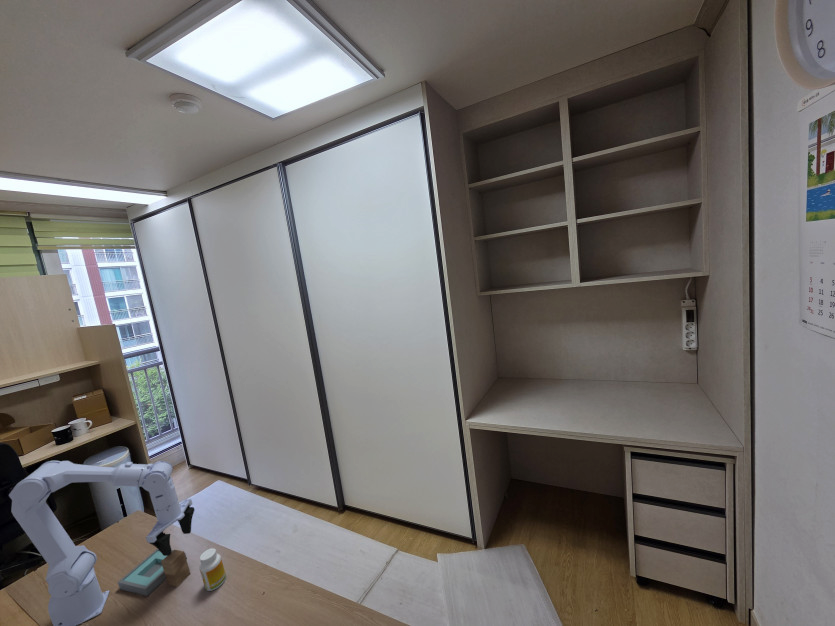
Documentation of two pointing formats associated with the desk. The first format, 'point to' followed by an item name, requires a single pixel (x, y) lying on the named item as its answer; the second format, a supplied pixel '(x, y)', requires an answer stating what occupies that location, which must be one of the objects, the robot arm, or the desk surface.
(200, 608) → the desk surface
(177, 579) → the peg
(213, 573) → the supplement bottle
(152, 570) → the socket box
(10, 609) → the desk surface
